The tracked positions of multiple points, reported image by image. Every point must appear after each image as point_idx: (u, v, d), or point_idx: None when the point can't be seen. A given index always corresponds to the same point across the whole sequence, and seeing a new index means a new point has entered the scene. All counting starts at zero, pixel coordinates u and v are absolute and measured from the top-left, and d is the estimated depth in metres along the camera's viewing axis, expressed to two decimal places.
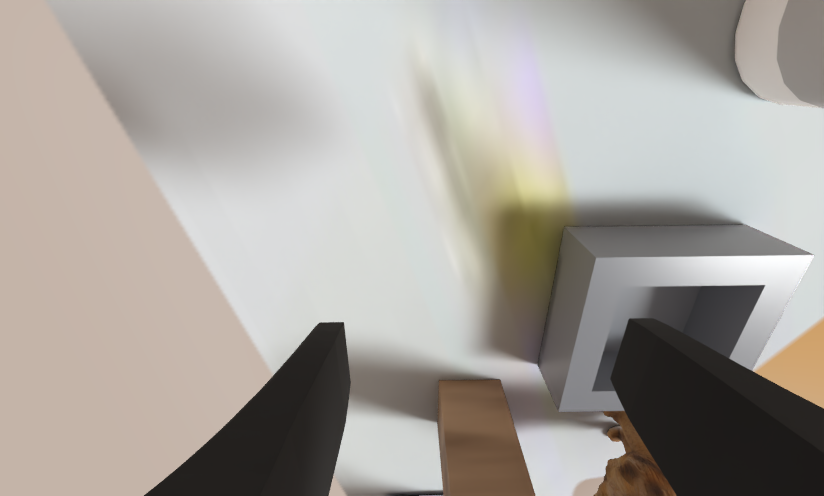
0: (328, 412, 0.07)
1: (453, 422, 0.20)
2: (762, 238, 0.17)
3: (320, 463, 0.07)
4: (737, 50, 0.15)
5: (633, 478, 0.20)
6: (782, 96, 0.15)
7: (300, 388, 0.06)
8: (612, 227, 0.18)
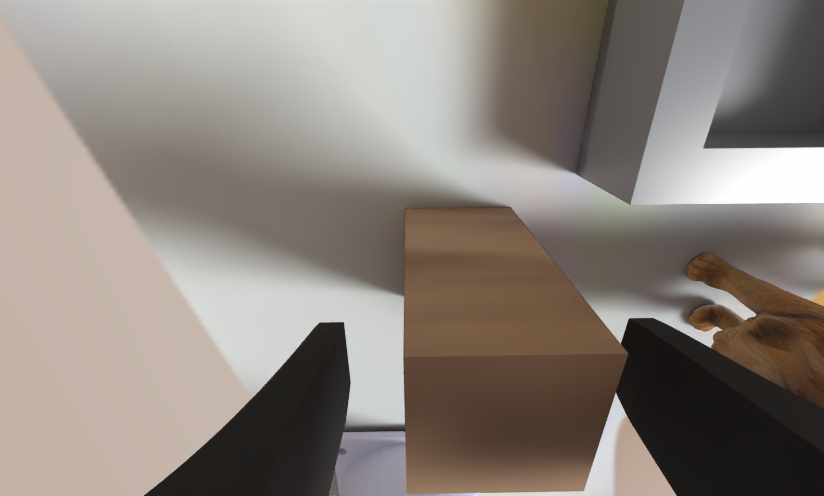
0: (328, 412, 0.07)
1: (424, 242, 0.11)
2: None
3: (320, 463, 0.07)
4: None
5: (786, 341, 0.10)
6: None
7: (300, 388, 0.06)
8: None
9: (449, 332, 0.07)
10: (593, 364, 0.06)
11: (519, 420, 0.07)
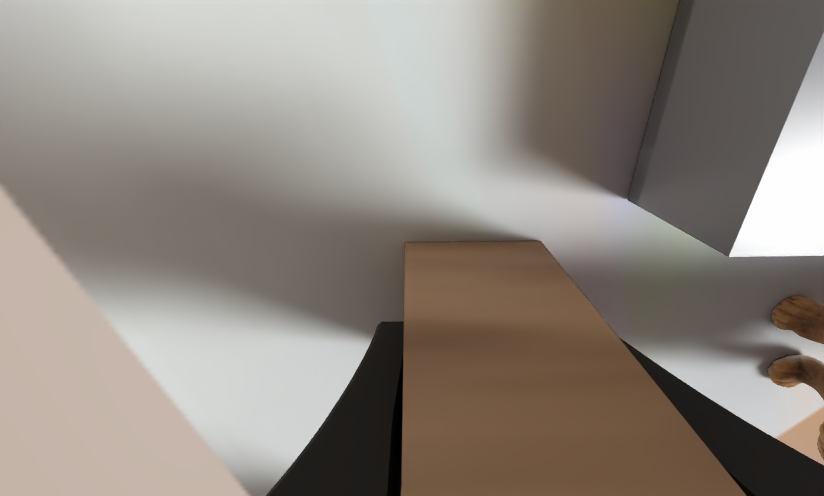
0: (402, 411, 0.07)
1: (432, 303, 0.08)
2: None
3: (398, 462, 0.07)
4: None
5: None
6: None
7: (387, 387, 0.06)
8: None
9: None
10: None
11: None
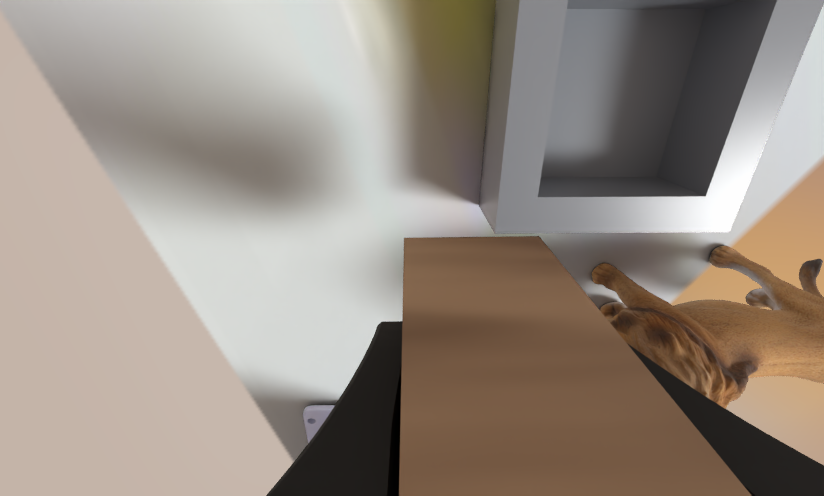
0: None
1: (429, 296, 0.08)
2: None
3: (398, 462, 0.07)
4: None
5: (630, 327, 0.15)
6: None
7: (387, 387, 0.06)
8: None
9: None
10: None
11: None
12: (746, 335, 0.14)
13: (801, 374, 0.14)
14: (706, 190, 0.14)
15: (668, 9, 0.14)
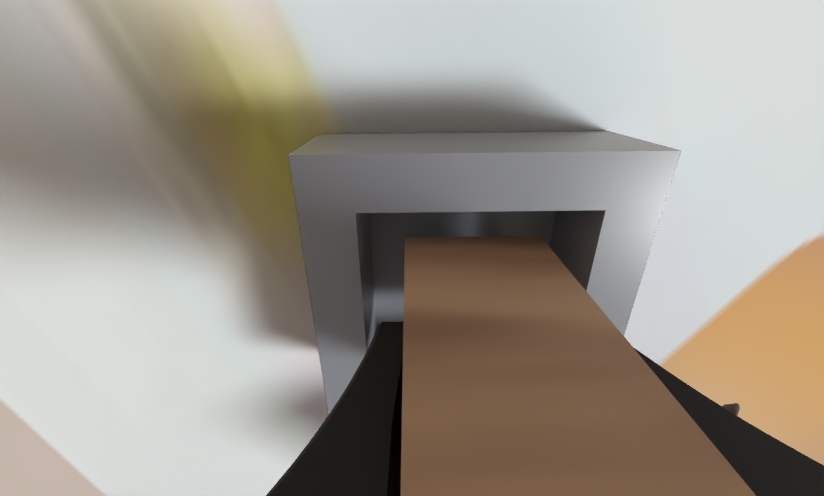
0: None
1: (431, 296, 0.08)
2: (614, 139, 0.10)
3: (398, 462, 0.07)
4: None
5: None
6: None
7: (388, 387, 0.06)
8: (393, 133, 0.12)
9: None
10: None
11: None
12: None
13: None
14: None
15: None
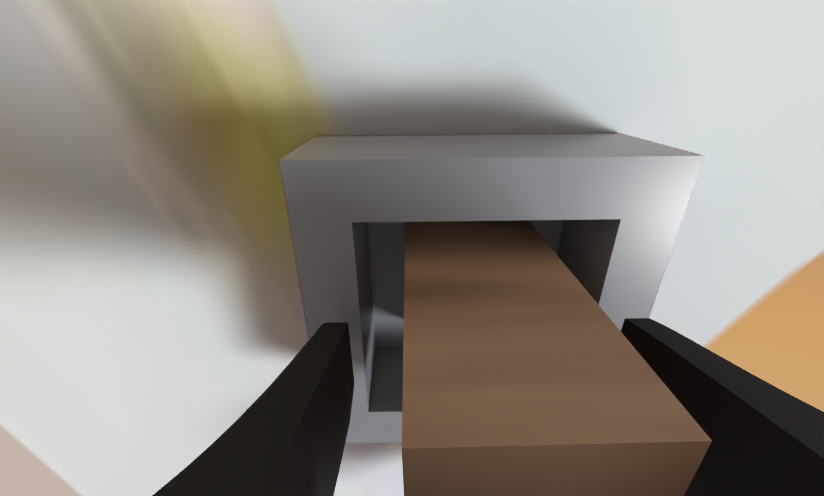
0: (333, 412, 0.07)
1: (427, 266, 0.09)
2: (629, 142, 0.10)
3: (325, 463, 0.07)
4: None
5: None
6: None
7: (306, 388, 0.06)
8: (393, 136, 0.11)
9: (463, 405, 0.05)
10: (662, 454, 0.05)
11: None
12: None
13: None
14: None
15: None
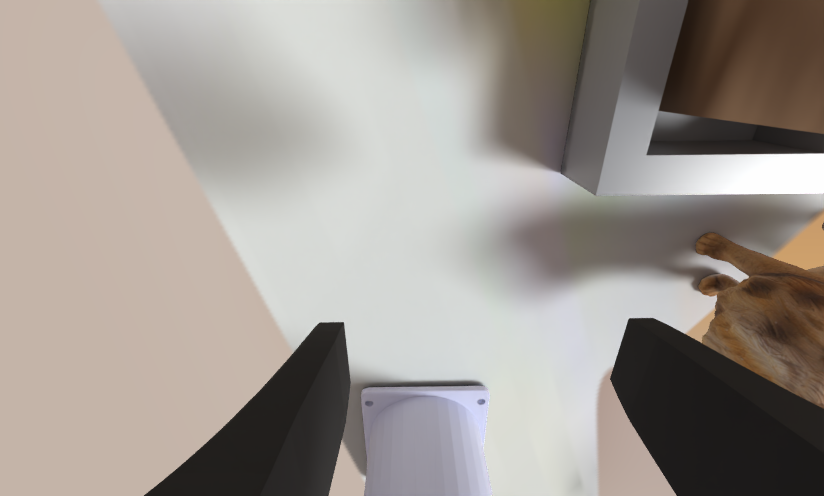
0: (328, 412, 0.07)
1: None
2: None
3: (320, 463, 0.07)
4: None
5: (770, 292, 0.14)
6: None
7: (300, 388, 0.06)
8: None
9: None
10: None
11: None
12: None
13: None
14: None
15: None
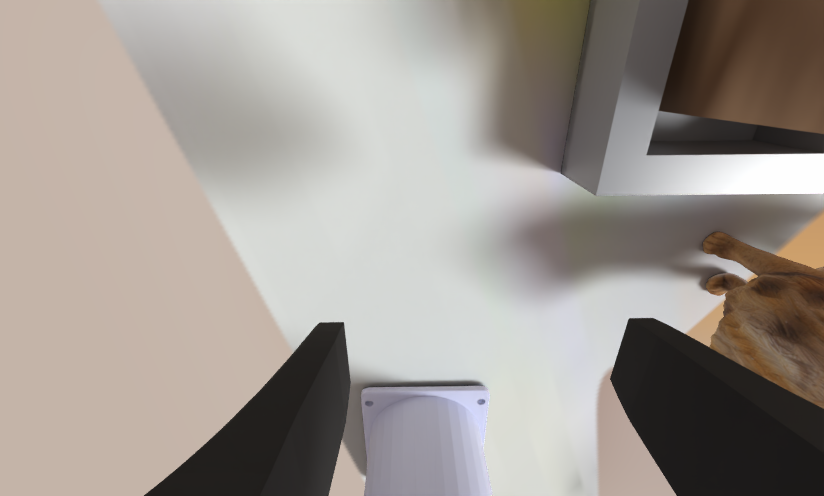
0: (328, 412, 0.07)
1: None
2: None
3: (320, 463, 0.07)
4: None
5: (779, 291, 0.14)
6: None
7: (300, 388, 0.06)
8: None
9: None
10: None
11: None
12: None
13: None
14: None
15: None
